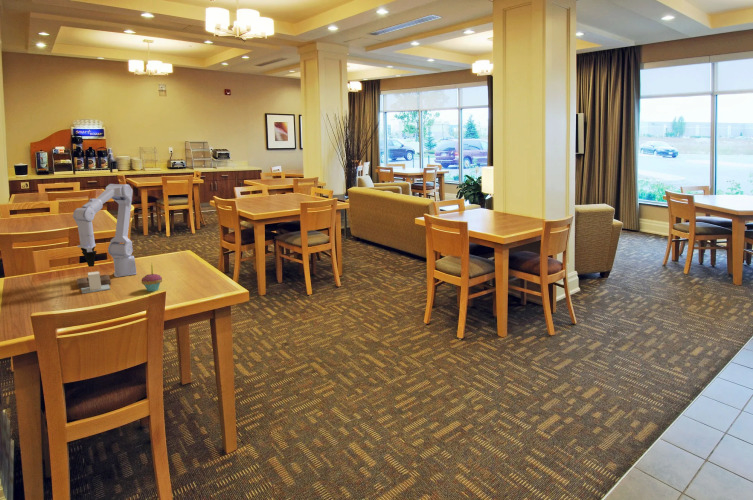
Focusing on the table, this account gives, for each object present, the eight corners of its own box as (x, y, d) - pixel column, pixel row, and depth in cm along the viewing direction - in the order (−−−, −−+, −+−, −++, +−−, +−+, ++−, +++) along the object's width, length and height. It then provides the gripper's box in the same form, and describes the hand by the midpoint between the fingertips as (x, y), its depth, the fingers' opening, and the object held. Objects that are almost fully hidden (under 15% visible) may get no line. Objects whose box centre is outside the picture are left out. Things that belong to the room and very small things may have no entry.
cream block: (100, 286, 231) (98, 271, 229) (101, 288, 227) (99, 273, 226) (89, 287, 229) (87, 272, 227) (90, 290, 225) (88, 275, 223)
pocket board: (108, 279, 243) (108, 274, 242) (110, 284, 236) (110, 279, 235) (77, 284, 236) (76, 278, 236) (78, 289, 229) (77, 283, 228)
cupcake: (146, 287, 232) (143, 261, 229) (165, 286, 232) (163, 261, 230) (139, 293, 223) (136, 266, 220) (159, 292, 224) (157, 266, 221)
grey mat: (108, 285, 234) (108, 284, 234) (110, 289, 228) (110, 288, 228) (81, 289, 228) (81, 288, 228) (82, 293, 222) (82, 292, 222)
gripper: (75, 233, 231) (79, 262, 234) (77, 238, 219) (81, 269, 222) (92, 231, 235) (96, 260, 238) (95, 237, 223) (99, 267, 226)
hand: (90, 264), depth 230 cm, fingers open, 7 cm apart
